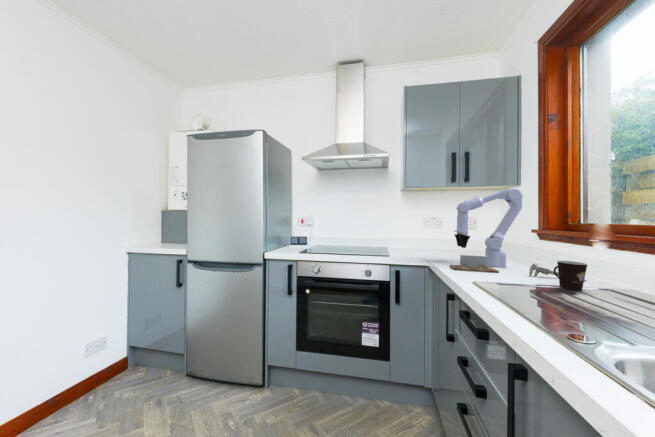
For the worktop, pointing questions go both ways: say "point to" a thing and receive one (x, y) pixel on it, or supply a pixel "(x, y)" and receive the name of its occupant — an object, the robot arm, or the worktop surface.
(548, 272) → the caliper
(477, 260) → the door panel
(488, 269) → the hinge board
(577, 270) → the coffee mug
